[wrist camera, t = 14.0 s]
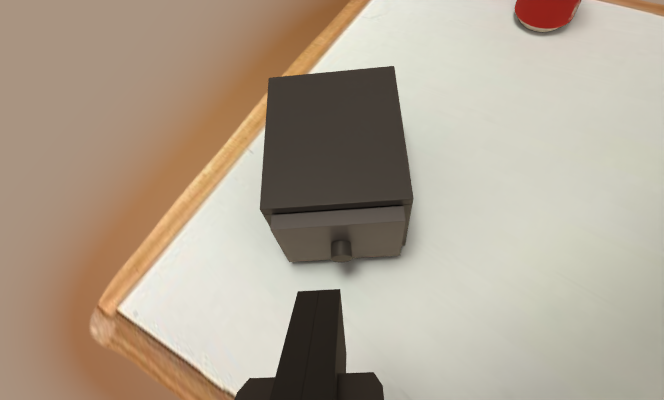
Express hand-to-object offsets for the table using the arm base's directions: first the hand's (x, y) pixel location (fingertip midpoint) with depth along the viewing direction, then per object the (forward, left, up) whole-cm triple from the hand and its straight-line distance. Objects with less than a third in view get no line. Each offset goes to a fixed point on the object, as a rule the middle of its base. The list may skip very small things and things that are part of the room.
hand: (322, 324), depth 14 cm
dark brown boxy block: (+2, -16, -18) cm, 24 cm away
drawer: (+2, -14, -17) cm, 22 cm away
